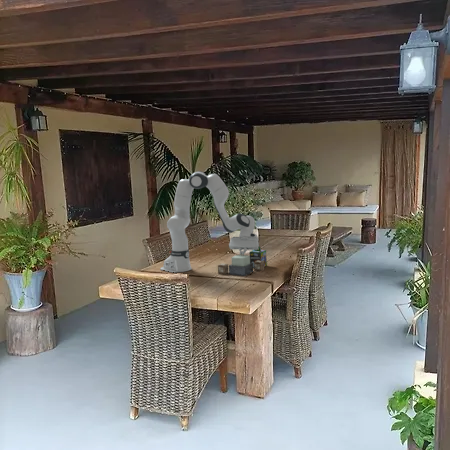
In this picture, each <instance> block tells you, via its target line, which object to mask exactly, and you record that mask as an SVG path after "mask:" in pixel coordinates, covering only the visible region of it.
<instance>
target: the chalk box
mask: <svg viewBox="0 0 450 450" xmlns="http://www.w3.org/2000/svg"><path fill="white" fill-rule="evenodd" d="M249 256H250V263H253V269H254V262H256V261H264V268H265V267H267V266H268V263H267V261H268V259H267V258H268V257H267V249H262V248H261V246H259V247H258V249H257V250H249Z"/></svg>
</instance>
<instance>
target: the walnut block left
mask: <svg viewBox="0 0 450 450" xmlns="http://www.w3.org/2000/svg"><path fill="white" fill-rule="evenodd" d="M217 274H218V275H226V274H227V275H228V274H229V264H228V263H220V264H217Z"/></svg>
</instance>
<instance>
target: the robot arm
mask: <svg viewBox="0 0 450 450" xmlns="http://www.w3.org/2000/svg"><path fill="white" fill-rule="evenodd" d="M203 188H207V189H208V190H209V192H210V194H211V195H212V198H213V204H214V207H215V210H216V212H217V214H218V216H219V218H220V221H221V222H222V226H223V229H224V230H225V232H227V233H229V234H233V233H234V232H236V231H237V230H240V232H239V236H232V237H231V238H230V241H229V244H228V248H229V249H230V250H239V255H245V253H246V252H247V251H252V250H257V249H259V248H258V247H260V246H259V245H260V243H259V237H258V235H257V234H256V233H254V231H255V225H256V221H255V218H254V217H253V216H251V215H245V214H244V213H240V212H239V213H237V214H235V215H233V216H231V217H230V216H229V214H228V212H227V209H226V208H225V203H226V202H227V199H229V196H230V191H229V189H228V187H227V185H226V184H225V182H224V181H223V180H222V178H221V177H220V176H219V175H218V174H217V173H211V174H209V175H207V174H206V173H205V172H203V171H201V170H200V171H195V172H193V173H192V174H191V175H190V176H189V178H188V179H187V178H184V179H183V178H182V179H179V181H178V183H177V186H176V189H175V195H174V202H173V207H174V214H173V215H172V216H171V217H170V218H169V219H168V220H167V222H166V227H167V229H168V230H169V234H170V238H171V245H172V246H171V248H172V249H171V250H170V251H169V252H168V253H170V255H169V256H168V257H167V258H166V259H164V261H163V266H161V267H160V269H159V270H160V271H163V270H165V272H168V271H169V273H173V272H174V273H183V272H188V271H191V270H192V266H191V261H190V249H189V239H188V236H187V234H186V228H187V227H188V226H189V225H190V223H191V219H190V210H191V209H190V208H191V207H190V206H191V201H192V197H193V196H192V195H193V191H194V189H195V190H199V189H203ZM174 273H173V274H174Z"/></svg>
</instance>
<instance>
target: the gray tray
mask: <svg viewBox="0 0 450 450" xmlns="http://www.w3.org/2000/svg"><path fill="white" fill-rule="evenodd" d="M251 272H252V273H253V272H254V268H253V263H250V264H248V265H246V266H233V265H232V263H230V264H228V275H231V276H242V277H246V276H248V275H250V274H252V273H251Z"/></svg>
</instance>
